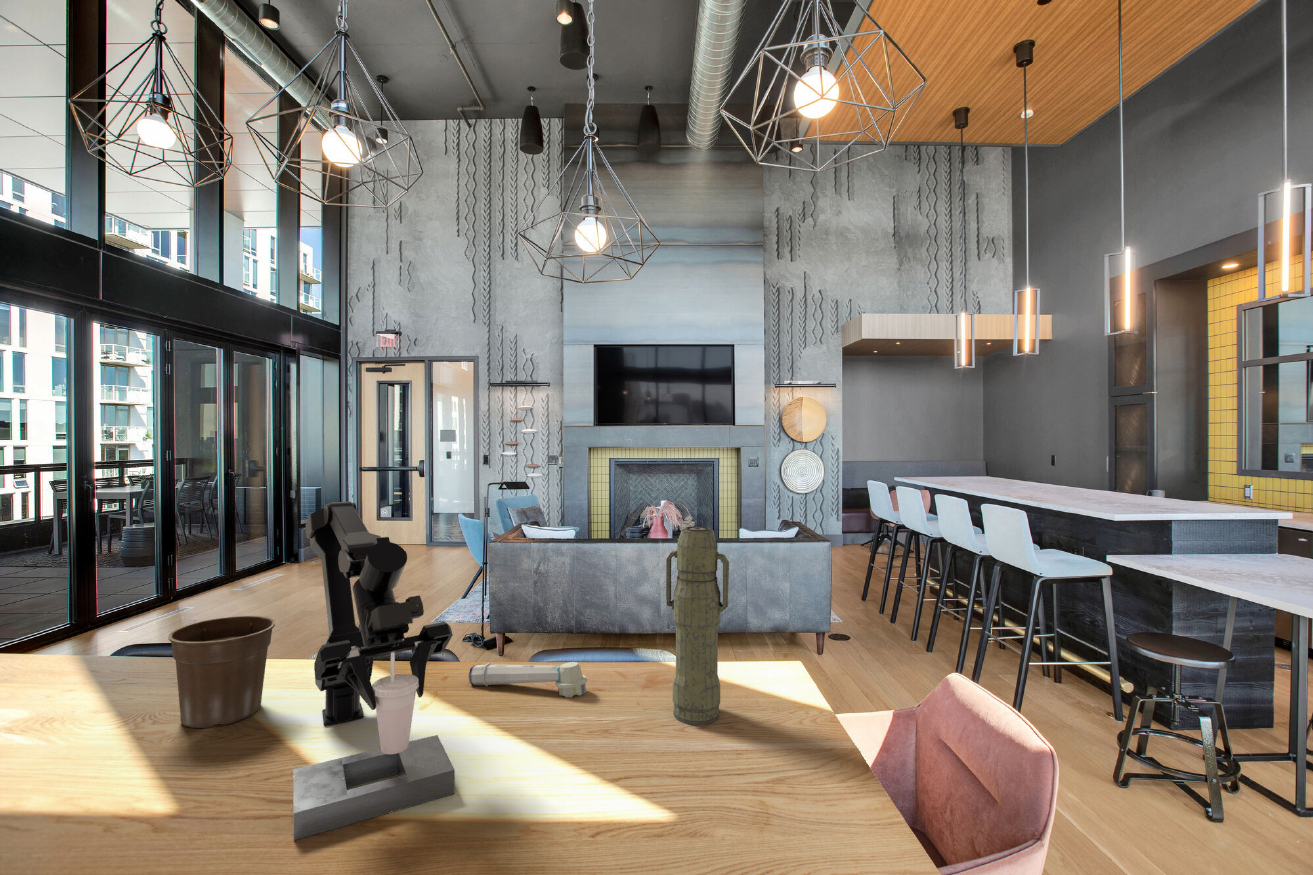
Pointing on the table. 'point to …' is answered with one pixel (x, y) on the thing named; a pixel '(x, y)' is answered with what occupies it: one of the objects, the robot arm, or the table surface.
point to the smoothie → (395, 709)
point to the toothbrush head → (532, 676)
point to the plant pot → (221, 668)
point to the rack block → (369, 786)
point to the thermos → (697, 624)
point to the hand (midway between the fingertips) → (398, 702)
